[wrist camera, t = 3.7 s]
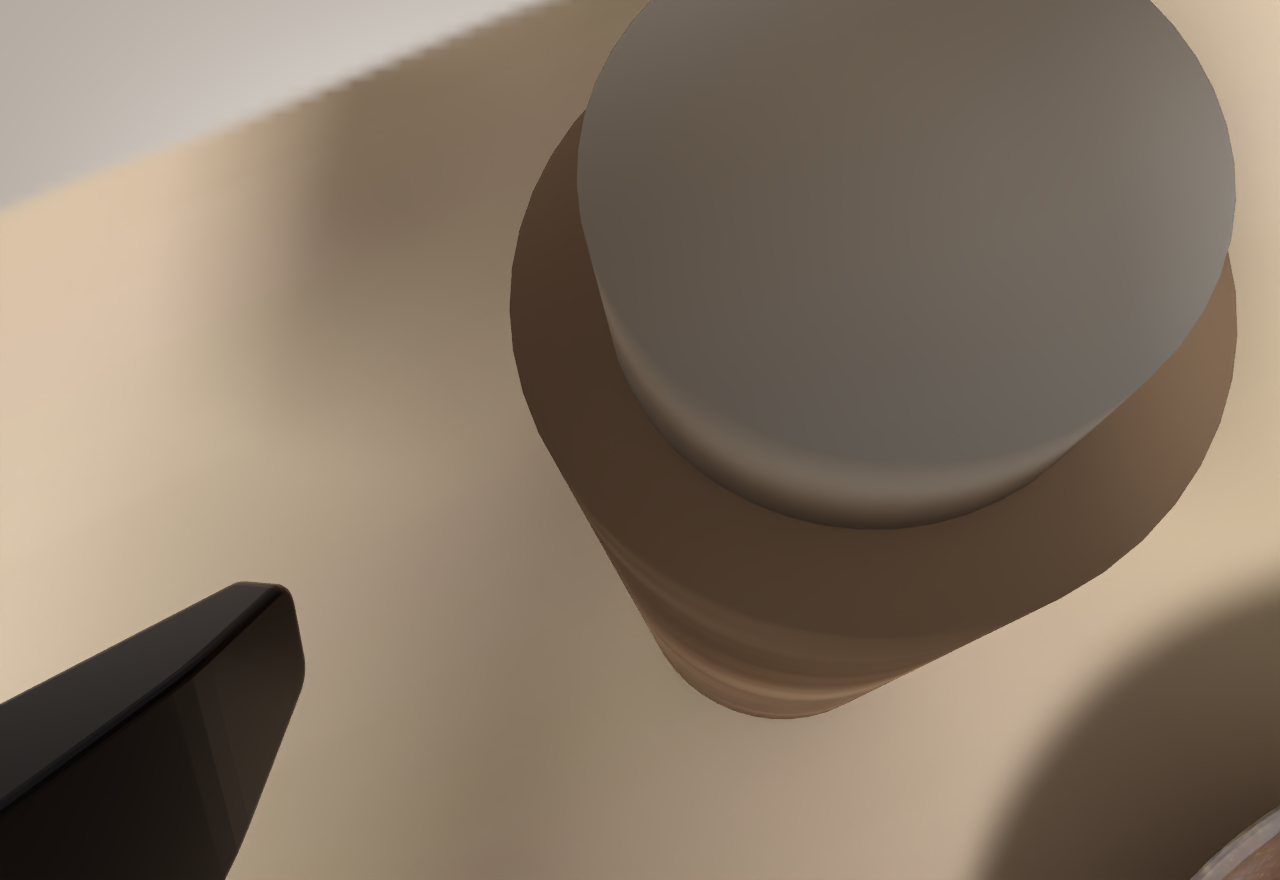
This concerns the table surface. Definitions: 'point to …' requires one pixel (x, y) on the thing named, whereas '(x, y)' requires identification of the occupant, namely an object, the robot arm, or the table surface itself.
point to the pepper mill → (876, 321)
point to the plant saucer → (1248, 853)
